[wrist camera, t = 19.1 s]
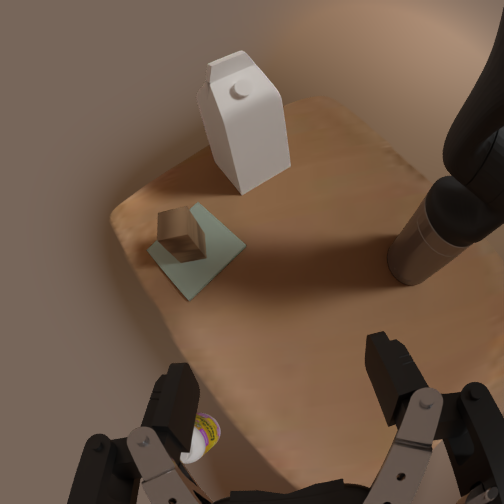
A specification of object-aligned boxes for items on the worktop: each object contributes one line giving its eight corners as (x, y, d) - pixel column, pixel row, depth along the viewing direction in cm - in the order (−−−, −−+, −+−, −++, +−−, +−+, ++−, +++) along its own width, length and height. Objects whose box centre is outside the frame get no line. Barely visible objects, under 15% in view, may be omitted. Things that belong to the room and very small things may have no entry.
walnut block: (204, 233, 51) (186, 205, 42) (206, 258, 49) (187, 234, 40) (179, 238, 52) (157, 212, 42) (180, 263, 50) (157, 240, 40)
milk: (259, 136, 60) (241, 37, 36) (290, 166, 55) (283, 56, 31) (214, 161, 58) (176, 63, 35) (241, 195, 54) (207, 87, 30)
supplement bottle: (229, 434, 38) (207, 459, 26) (200, 452, 37) (170, 478, 25) (204, 404, 40) (173, 418, 28) (176, 423, 39) (139, 439, 27)
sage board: (198, 203, 55) (197, 201, 54) (246, 246, 50) (246, 245, 49) (147, 251, 52) (146, 250, 52) (189, 301, 47) (188, 300, 47)
